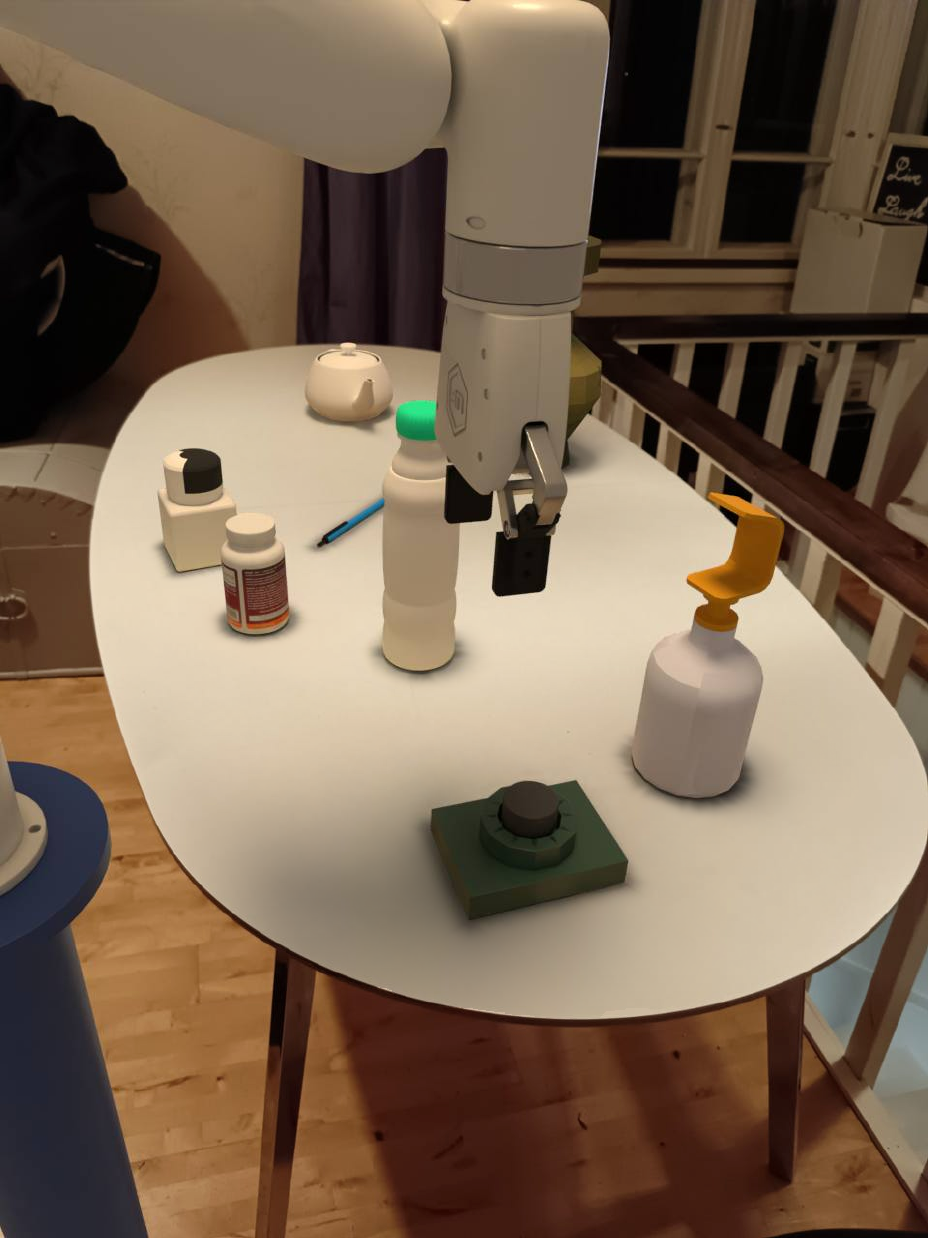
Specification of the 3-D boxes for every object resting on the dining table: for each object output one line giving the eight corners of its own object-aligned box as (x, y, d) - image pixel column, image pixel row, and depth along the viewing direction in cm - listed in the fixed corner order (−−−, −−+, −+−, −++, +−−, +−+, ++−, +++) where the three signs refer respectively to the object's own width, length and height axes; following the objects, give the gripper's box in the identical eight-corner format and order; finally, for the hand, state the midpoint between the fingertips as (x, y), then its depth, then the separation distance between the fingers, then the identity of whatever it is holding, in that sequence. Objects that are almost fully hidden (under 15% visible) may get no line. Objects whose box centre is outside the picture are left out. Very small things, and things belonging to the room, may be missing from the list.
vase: (575, 490, 129) (602, 257, 113) (465, 468, 134) (476, 241, 118) (606, 450, 142) (634, 236, 126) (504, 431, 147) (519, 222, 131)
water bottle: (436, 628, 97) (444, 389, 84) (466, 664, 92) (480, 415, 79) (371, 642, 95) (369, 397, 82) (398, 680, 89) (401, 424, 76)
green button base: (468, 919, 66) (471, 878, 64) (430, 830, 73) (431, 790, 71) (624, 882, 69) (632, 842, 67) (573, 800, 76) (579, 762, 74)
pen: (315, 547, 112) (314, 538, 111) (399, 491, 126) (399, 483, 126) (321, 549, 111) (321, 540, 111) (405, 493, 126) (405, 485, 125)
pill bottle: (298, 609, 99) (293, 513, 94) (276, 640, 94) (269, 541, 88) (242, 601, 100) (233, 505, 95) (217, 631, 95) (206, 532, 89)
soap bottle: (609, 749, 82) (651, 485, 69) (689, 720, 86) (743, 465, 73) (679, 814, 76) (740, 536, 63) (761, 779, 80) (835, 511, 67)
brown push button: (513, 845, 67) (515, 823, 66) (493, 807, 70) (495, 786, 69) (565, 833, 68) (568, 812, 67) (543, 796, 71) (546, 776, 70)
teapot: (290, 395, 156) (287, 328, 151) (370, 388, 161) (370, 323, 156) (328, 442, 139) (326, 369, 134) (415, 433, 144) (417, 362, 139)
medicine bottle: (225, 535, 113) (216, 439, 107) (241, 562, 108) (233, 462, 101) (163, 545, 110) (150, 447, 104) (177, 573, 105) (164, 471, 98)
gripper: (404, 239, 57) (399, 502, 66) (501, 313, 43) (477, 633, 52) (522, 239, 59) (501, 493, 68) (650, 310, 45) (603, 617, 54)
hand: (491, 554), depth 60 cm, fingers open, 9 cm apart
